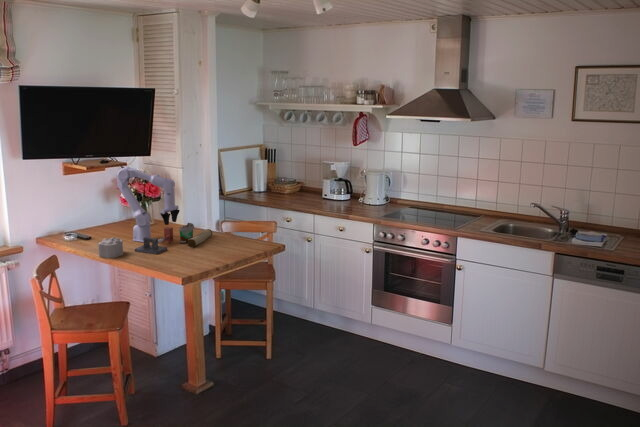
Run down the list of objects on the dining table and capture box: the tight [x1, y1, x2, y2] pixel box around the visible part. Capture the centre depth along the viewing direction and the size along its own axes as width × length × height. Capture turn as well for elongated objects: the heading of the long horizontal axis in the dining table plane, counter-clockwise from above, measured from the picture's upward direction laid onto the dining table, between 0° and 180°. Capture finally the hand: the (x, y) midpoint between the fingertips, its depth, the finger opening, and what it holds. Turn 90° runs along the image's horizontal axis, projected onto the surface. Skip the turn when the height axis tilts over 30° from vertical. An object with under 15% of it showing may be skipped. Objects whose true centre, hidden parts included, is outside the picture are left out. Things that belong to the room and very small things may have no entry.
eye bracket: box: [134, 237, 168, 255], centre depth 329 cm, size 10×14×7 cm
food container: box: [178, 222, 195, 245], centre depth 348 cm, size 12×6×10 cm, turn 168°
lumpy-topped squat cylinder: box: [97, 236, 124, 259], centre depth 320 cm, size 10×13×9 cm
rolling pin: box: [186, 228, 213, 248], centre depth 349 cm, size 32×6×5 cm, turn 167°
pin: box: [158, 226, 174, 244], centre depth 339 cm, size 14×4×8 cm, turn 160°
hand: (170, 223), depth 348 cm, fingers open, 7 cm apart
